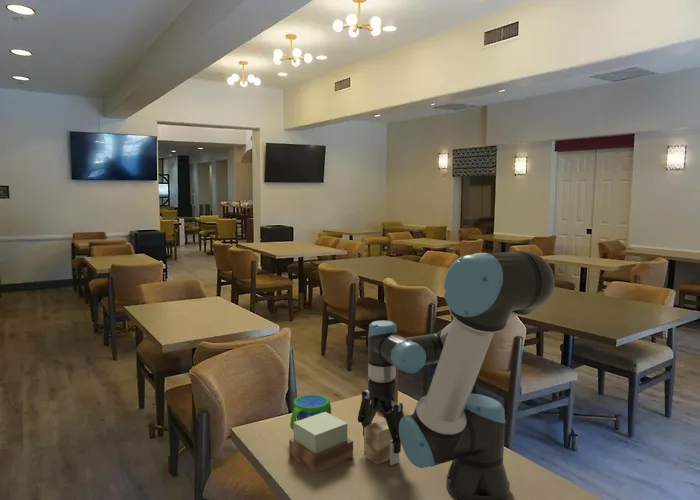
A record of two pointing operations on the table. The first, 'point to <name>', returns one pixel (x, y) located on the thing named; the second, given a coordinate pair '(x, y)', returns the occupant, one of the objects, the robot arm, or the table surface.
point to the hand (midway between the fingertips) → (381, 455)
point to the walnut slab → (321, 455)
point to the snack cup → (309, 407)
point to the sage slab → (320, 432)
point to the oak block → (378, 441)
